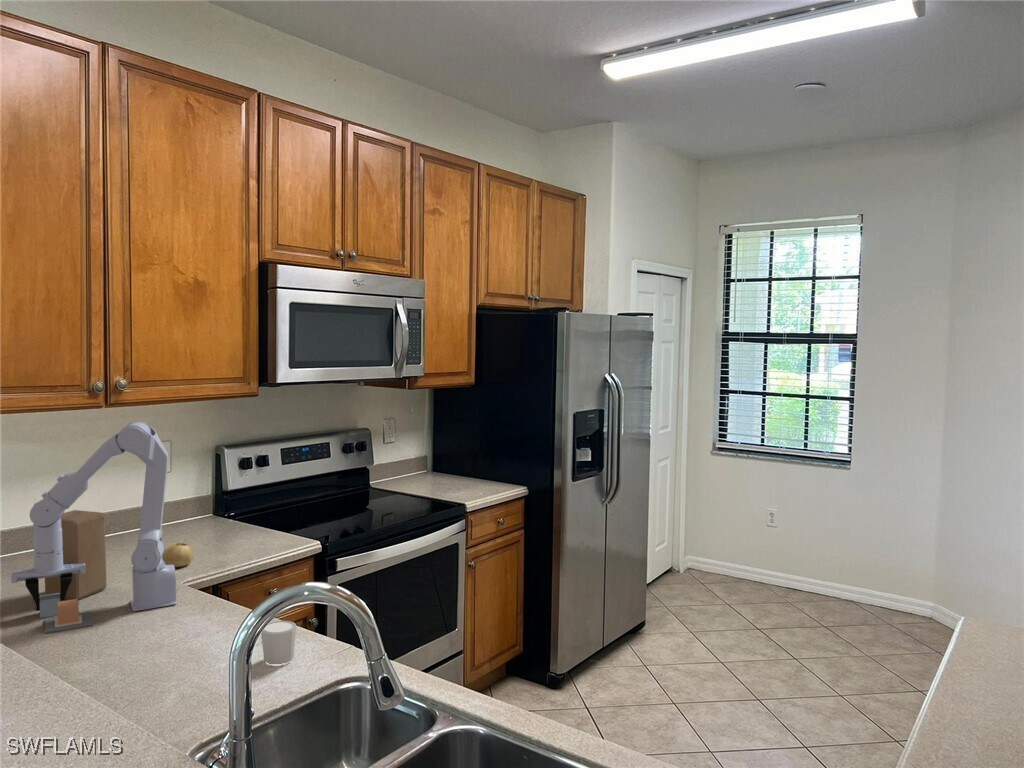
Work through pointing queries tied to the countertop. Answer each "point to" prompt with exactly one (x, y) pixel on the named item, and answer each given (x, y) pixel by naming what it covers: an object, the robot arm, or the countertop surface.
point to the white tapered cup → (278, 642)
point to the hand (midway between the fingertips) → (50, 607)
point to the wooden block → (82, 554)
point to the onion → (178, 554)
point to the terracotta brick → (68, 611)
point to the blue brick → (49, 605)
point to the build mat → (53, 626)
